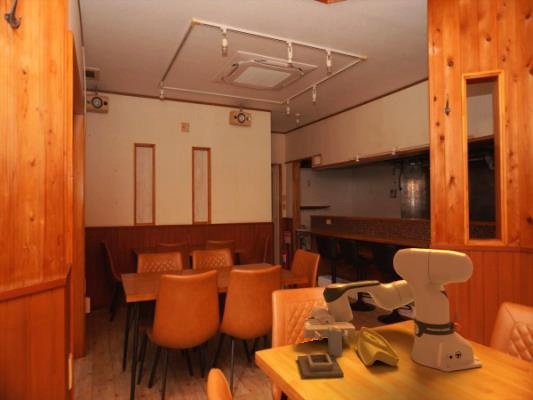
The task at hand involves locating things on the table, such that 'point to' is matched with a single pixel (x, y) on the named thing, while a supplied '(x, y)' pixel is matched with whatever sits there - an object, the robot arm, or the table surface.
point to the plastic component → (375, 348)
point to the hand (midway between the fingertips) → (333, 337)
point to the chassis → (319, 366)
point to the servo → (335, 341)
